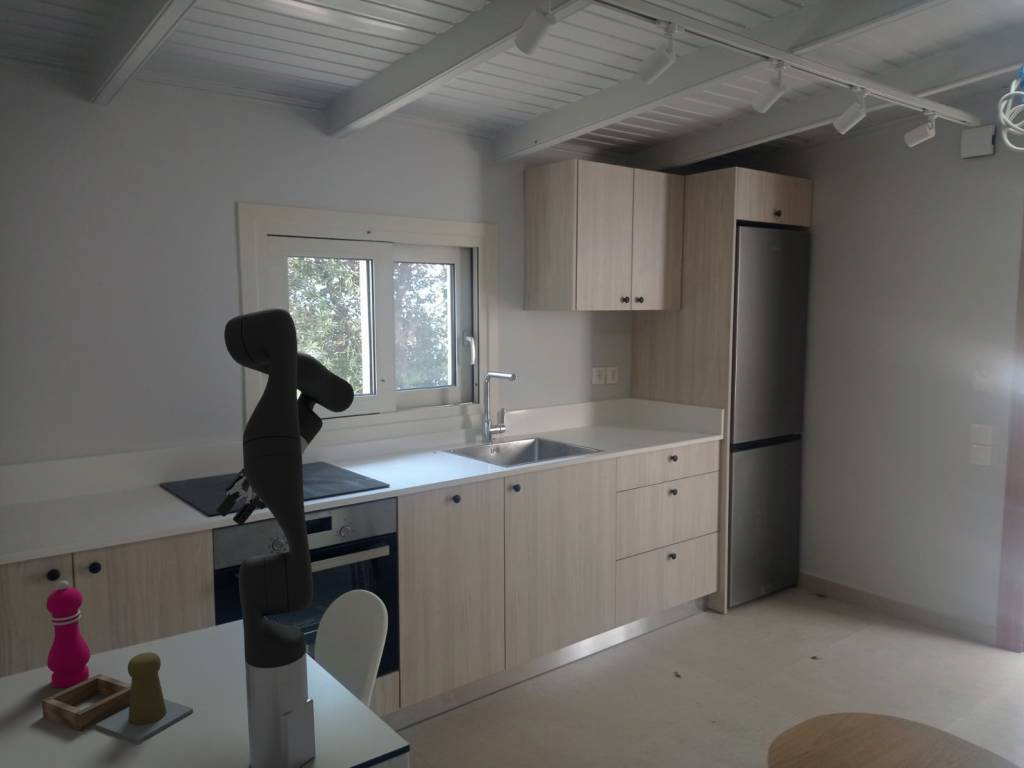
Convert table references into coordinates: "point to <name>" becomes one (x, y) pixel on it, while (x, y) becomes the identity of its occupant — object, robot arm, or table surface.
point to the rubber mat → (138, 733)
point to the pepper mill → (67, 638)
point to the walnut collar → (78, 719)
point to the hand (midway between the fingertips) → (228, 518)
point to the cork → (145, 690)
